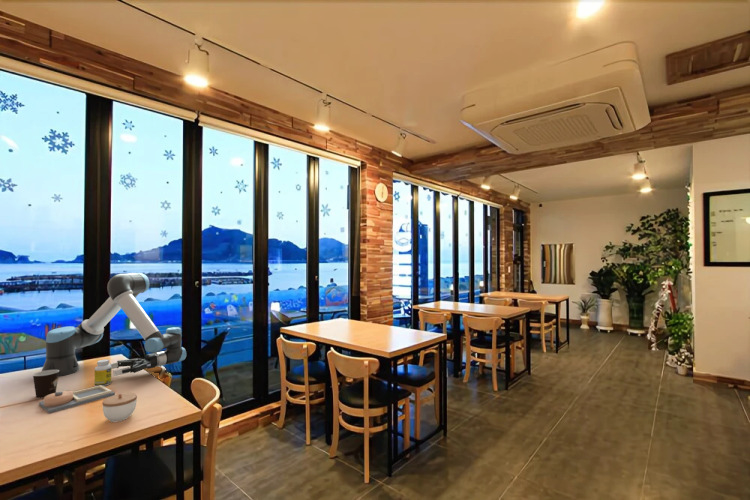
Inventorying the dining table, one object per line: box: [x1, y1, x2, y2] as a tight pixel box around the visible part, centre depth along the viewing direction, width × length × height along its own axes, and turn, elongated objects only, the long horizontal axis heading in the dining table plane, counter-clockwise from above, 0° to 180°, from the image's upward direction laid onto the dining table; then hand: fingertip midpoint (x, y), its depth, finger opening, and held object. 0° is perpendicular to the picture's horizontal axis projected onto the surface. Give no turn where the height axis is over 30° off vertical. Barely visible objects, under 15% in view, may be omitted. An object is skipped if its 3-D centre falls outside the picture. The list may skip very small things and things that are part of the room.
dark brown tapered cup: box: [32, 370, 60, 399], centre depth 158 cm, size 12×9×10 cm
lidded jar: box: [102, 392, 138, 423], centre depth 134 cm, size 11×11×9 cm
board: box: [38, 385, 116, 414], centre depth 151 cm, size 14×22×5 cm, turn 146°
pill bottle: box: [93, 358, 112, 387], centre depth 169 cm, size 6×6×12 cm
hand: (107, 370), depth 170 cm, fingers open, 13 cm apart
